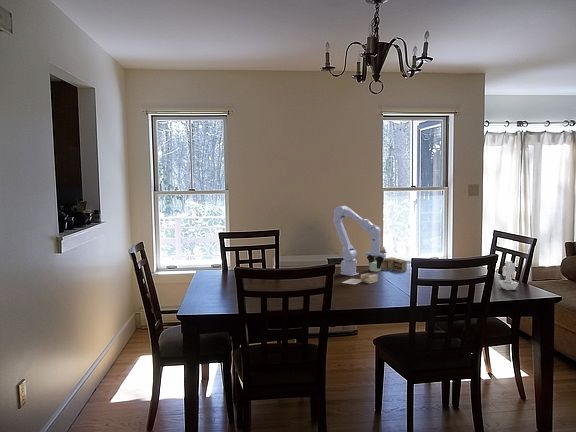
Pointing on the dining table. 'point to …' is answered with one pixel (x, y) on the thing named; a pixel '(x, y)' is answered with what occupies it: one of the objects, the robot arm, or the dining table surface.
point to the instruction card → (352, 281)
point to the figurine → (509, 276)
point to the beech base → (369, 278)
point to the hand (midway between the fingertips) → (375, 267)
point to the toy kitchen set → (392, 263)
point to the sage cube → (374, 267)
